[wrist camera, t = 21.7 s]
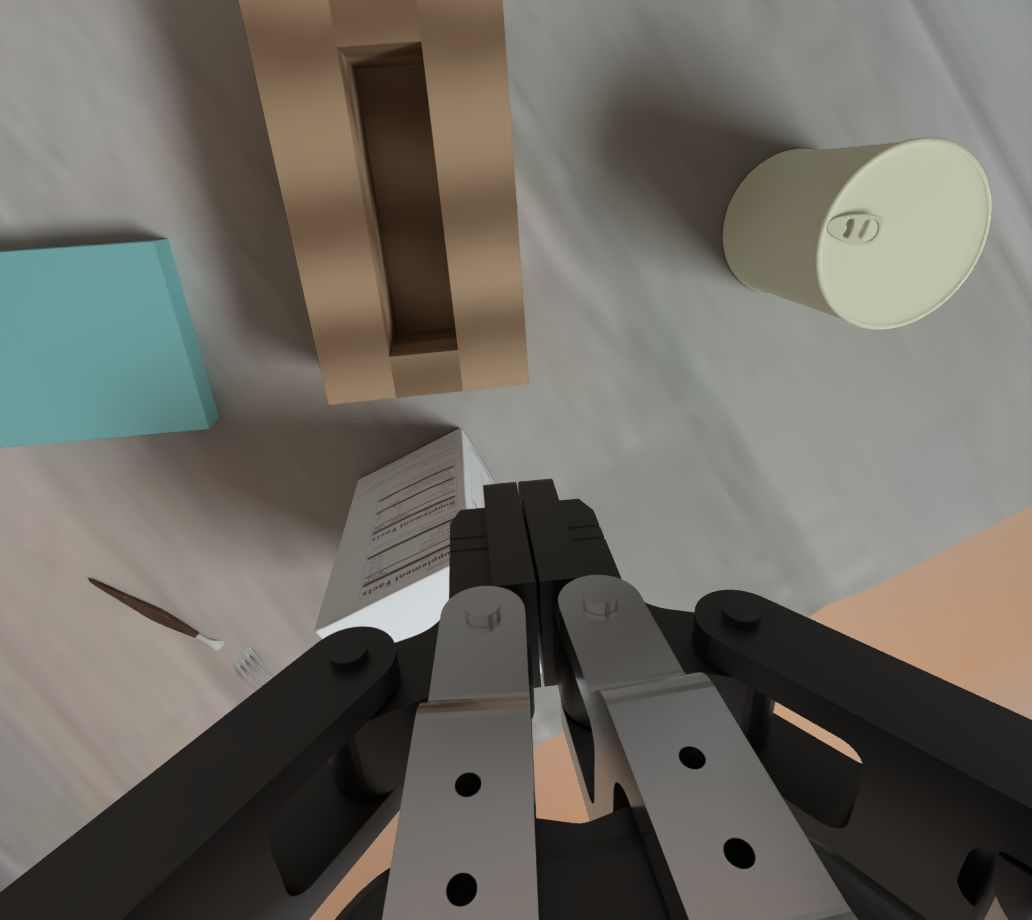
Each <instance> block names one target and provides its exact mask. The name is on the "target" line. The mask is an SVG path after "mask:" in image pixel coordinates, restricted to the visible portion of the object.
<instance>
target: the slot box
mask: <svg viewBox="0 0 1032 920" xmlns="http://www.w3.org/2000/svg"><path fill="white" fill-rule="evenodd" d="M239 4H240V9H241V13H242V18H243V22H244V27H245V31H246V36H247V40H248V45H249V49H250V54H251V58H252V63H253V67H254V72H255V76H256V81H257V85H258V90H259V94H260V99H261V103H262V108H263V112H264V117H265V121H266V126H267V130H268V135H269V139H270V144H271V148H272V153H273V157H274V162H275V166H276V171H277V175H278V180H279V184H280V189H281V193H282V198H283V202H284V207H285V211H286V216H287V220H288V225H289V229H290V234H291V238H292V243H293V247H294V252H295V256H296V261H297V265H298V270H299V274H300V279H301V283H302V288H303V292H304V297H305V301H306V306H307V310H308V315H309V320H310V324H311V329H312V333H313V338H314V342H315V347H316V351H317V356H318V360H319V365H320V369H321V374H322V378H323V383H324V387H325V392H326V396H327V401H328V405H331V404H341V403H351V402H360V401H370V400H380V399H390V398H399V397H409V396H419V395H428V394H438V393H448V392H458V391H467V390H477V389H487V388H497V387H506V386H516V385H526V384H529V376H528V362H527V347H526V333H525V318H524V304H523V290H522V275H521V261H520V246H519V232H518V217H517V203H516V189H515V174H514V160H513V145H512V131H511V116H510V102H509V88H508V73H507V59H506V44H505V30H504V16H503V1H502V0H239Z"/></svg>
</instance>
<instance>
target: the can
mask: <svg viewBox="0 0 1032 920" xmlns="http://www.w3.org/2000/svg"><path fill="white" fill-rule="evenodd" d="M990 219H991V194H990V189H989V185H988V181H987V178H986V176H985V173H984V171H983V169H982V168H981V166H980V164H979V163H978V161H977V160H976V159H975V158H974V157H973V156H972V155H971V154H970V153H969V152H968V151H967V150H965V149H964V148H962V147H961V146H959V145H957V144H955V143H953V142H950V141H947V140H943V139H938V138H916V139H910V140H906V141H902V142H896V143H888V144H879V145H870V146H860V147H849V148H838V149H827V150H814V149H793V150H788V151H785V152H781V153H779V154H776V155H774V156H772V157H770V158H768V159H767V160H765V161H764V162H762V163H761V164H760V165H758V166H757V167H756V168H755V169H754V170H753V171H751V172H750V173H749V174H748V175H747V177H746V178H745V179H744V180H743V181H742V183H741V184H740V185H739V187H738V188H737V190H736V192H735V193H734V195H733V197H732V199H731V201H730V204H729V206H728V209H727V212H726V215H725V220H724V225H723V247H724V253H725V256H726V260H727V262H728V265H729V267H730V269H731V270H732V272H733V273H734V275H735V276H736V277H737V279H738V280H739V281H740V282H741V283H743V284H744V285H745V286H747V287H748V288H750V289H752V290H754V291H756V292H759V293H762V294H766V295H775V296H778V297H782V298H785V299H788V300H790V301H793V302H796V303H799V304H802V305H805V306H808V307H810V308H813V309H816V310H819V311H821V312H824V313H827V314H829V315H832V316H835V317H837V318H840V319H842V320H844V321H846V322H847V323H849V324H852V325H855V326H857V327H861V328H866V329H890V328H895V327H900V326H903V325H906V324H909V323H911V322H914V321H916V320H918V319H920V318H922V317H924V316H926V315H927V314H929V313H931V312H932V311H934V310H935V309H936V308H938V307H939V306H940V305H942V304H943V303H944V302H945V301H946V300H947V299H949V298H950V297H951V296H952V295H953V293H954V292H955V291H956V290H957V289H958V288H959V287H960V286H961V285H962V283H963V282H964V281H965V280H966V278H967V277H968V275H969V274H970V272H971V271H972V269H973V268H974V266H975V264H976V262H977V260H978V258H979V256H980V254H981V252H982V249H983V247H984V244H985V242H986V238H987V234H988V230H989V226H990Z"/></svg>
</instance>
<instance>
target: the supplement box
mask: <svg viewBox="0 0 1032 920" xmlns="http://www.w3.org/2000/svg"><path fill="white" fill-rule="evenodd" d="M488 484H495V483H494V481H493V479H492V478H491V476H490V474H489V473H488V471H487V469H486V468H485V466H484V465H483V463H482V461H481V460H480V458H479V456H478V455H477V453H476V451H475V450H474V448H473V446H472V445H471V443H470V441H469V440H468V438H467V436H466V435H465V433H464V432H463V430H462V429H457V430H455V431H453V432H451V433H449V434H447V435H445V436H443V437H441V438H440V439H438V440H436V441H434V442H432V443H430V444H428V445H426V446H424V447H422V448H420V449H418V450H416V451H414V452H412V453H410V454H408V455H406V456H404V457H403V458H401V459H399V460H397V461H395V462H393V463H391V464H389V465H387V466H385V467H383V468H381V469H379V470H377V471H375V472H373V473H371V474H369V475H367V476H365V477H363V478H361V479H360V480H358V482H357V486H356V489H355V493H354V496H353V500H352V503H351V507H350V510H349V514H348V517H347V521H346V524H345V527H344V531H343V534H342V538H341V541H340V545H339V548H338V552H337V555H336V559H335V562H334V566H333V569H332V572H331V576H330V579H329V583H328V586H327V589H326V593H325V596H324V600H323V603H322V606H321V610H320V613H319V616H318V620H317V623H316V627H315V632H316V633H317V635H318V636H319V637H320V638H321V639H323V638H325V637H327V636H328V635H330V634H332V633H335V632H337V631H339V630H343V629H346V628H351V627H359V626H367V627H374V628H378V629H381V630H383V631H385V632H386V633H388V634H389V635H390V636H391V637H392V639H393V640H394V642H398V641H401V640H404V639H407V638H410V637H413V636H415V635H418V634H420V633H422V632H424V631H426V630H428V629H429V628H431V627H432V626H433V625H435V624H436V623H437V622H438V621H439V620H440V615H441V611H442V609H443V607H444V605H445V604H446V603H447V601H448V600H449V560H450V523H451V522H452V520H453V519H454V518H455V516H456V515H457V513H458V512H459V511H460V510H464V509H475V508H485V504H484V493H483V485H488ZM540 673H542V669H541V663H540Z"/></svg>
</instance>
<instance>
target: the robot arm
mask: <svg viewBox="0 0 1032 920" xmlns="http://www.w3.org/2000/svg"><path fill="white" fill-rule="evenodd" d="M518 491H519V494H518ZM483 493H484V504H485V508H475V509H464V510H460V511H459V512H458V513H457V515H456V516H455V518H454V519H453V520H452V522H451V523H450V560H449V600H448V601H447V603H446V604H445V605H444V607H443V609H442V611H441V615H440V620H439V621H438V622H437V623H436V624H435V625H433V626H432V627H431V628H429V629H428V630H426V631H424V632H422V633H420V634H418V635H415V636H413V637H410V638H407V639H404V640H401V641H398V642H394V640H393V639H392V637H391V636H390V635H389V634H388V633H386V632H385V631H383V630H381V629H378V628H374V627H367V626H359V627H351V628H346V629H343V630H339V631H337V632H335V633H332V634H330V635H328V636H327V637H325V638H323V639H322V640H321V641H319V642H318V643H317V644H315V645H314V646H313V647H311V648H310V649H309V650H308V651H306V652H305V653H304V654H303V655H301V656H300V657H299V658H297V659H296V660H295V661H294V662H292V663H291V664H290V665H289V666H287V667H286V668H285V669H284V670H282V671H281V672H280V673H278V674H277V675H276V676H275V677H273V678H272V679H271V680H270V681H268V682H267V683H266V684H264V685H263V686H262V687H261V688H259V689H258V690H257V691H256V692H254V693H253V694H252V695H250V696H249V697H248V698H247V699H245V700H244V701H243V702H242V703H240V704H239V705H238V706H236V707H235V708H234V709H233V710H231V711H230V712H229V713H228V714H226V715H225V716H224V717H223V718H221V719H220V720H219V721H217V722H216V723H215V724H214V725H212V726H211V727H210V728H209V729H207V730H206V731H205V732H203V733H202V734H201V735H200V736H198V737H197V738H196V739H195V740H193V741H192V742H191V743H189V744H188V745H187V746H186V747H184V748H183V749H182V750H181V751H179V752H178V753H177V754H175V755H174V756H173V757H172V758H170V759H169V760H168V761H167V762H165V763H164V764H163V765H162V766H160V767H159V768H158V769H156V770H155V771H154V772H153V773H151V774H150V775H149V776H148V777H146V778H145V779H144V780H142V781H141V782H140V783H139V784H137V785H136V786H135V787H134V788H132V789H131V790H130V791H128V792H127V793H126V794H125V795H123V796H122V797H121V798H120V799H118V800H117V801H116V802H114V803H113V804H112V805H111V806H109V807H108V808H107V809H106V810H104V811H103V812H102V813H101V814H99V815H98V816H97V817H95V818H94V819H93V820H92V821H90V822H89V823H88V824H87V825H85V826H84V827H83V828H81V829H80V830H79V831H78V832H76V833H75V834H74V835H73V836H71V837H70V838H69V839H67V840H66V841H65V842H64V843H62V844H61V845H60V846H59V847H57V848H56V849H55V850H54V851H52V852H51V853H50V854H48V855H47V856H46V857H45V858H43V859H42V860H41V861H40V862H38V863H37V864H36V865H34V866H33V867H32V868H31V869H29V870H28V871H27V872H26V873H24V874H23V875H22V876H20V877H19V878H18V879H17V880H15V881H14V882H13V883H12V884H10V885H9V886H8V887H6V888H5V889H4V890H3V891H1V892H0V920H309V919H310V918H311V916H312V915H313V914H314V913H315V912H316V910H317V909H318V908H319V907H320V906H321V904H322V903H323V902H324V901H325V900H326V898H327V897H328V896H329V895H330V893H331V892H332V891H333V890H334V889H335V888H336V886H337V885H338V884H339V883H340V881H341V880H342V879H343V878H344V877H345V875H346V874H347V873H348V872H349V870H350V869H351V868H352V867H353V866H354V865H355V863H356V862H357V861H358V860H359V858H360V857H361V856H362V855H363V854H364V853H365V851H366V850H367V849H368V848H369V846H370V845H371V844H372V843H373V842H374V840H375V839H376V838H377V837H378V836H379V834H380V833H381V832H382V831H383V829H384V828H385V827H386V826H387V825H388V823H389V822H390V821H391V820H392V819H393V817H394V816H395V815H396V814H397V813H398V811H399V810H400V813H399V819H398V825H397V832H396V838H395V844H394V850H393V857H392V862H391V867H390V868H389V869H387V870H386V871H384V872H383V873H382V874H380V875H379V876H377V877H376V878H375V879H374V880H373V881H371V882H370V883H369V884H368V885H367V886H366V887H365V888H363V890H361V891H360V892H359V893H358V894H357V895H356V896H355V897H354V898H353V899H352V901H351V902H350V903H349V904H348V905H347V906H346V907H345V908H344V909H343V910H342V911H341V913H340V914H339V915H338V916H337V918H336V919H335V920H1032V720H1031V719H1028V718H1026V717H1024V716H1022V715H1020V714H1017V713H1015V712H1013V711H1011V710H1009V709H1007V708H1004V707H1002V706H1000V705H998V704H996V703H993V702H991V701H989V700H987V699H985V698H983V697H980V696H978V695H976V694H974V693H971V692H969V691H967V690H965V689H963V688H961V687H958V686H956V685H954V684H952V683H950V682H947V681H945V680H943V679H941V678H939V677H936V676H934V675H932V674H930V673H928V672H926V671H923V670H921V669H919V668H917V667H915V666H912V665H910V664H908V663H906V662H904V661H901V660H899V659H897V658H895V657H893V656H890V655H888V654H886V653H884V652H882V651H879V650H877V649H875V648H873V647H871V646H869V645H866V644H864V643H862V642H860V641H858V640H855V639H853V638H851V637H849V636H846V635H844V634H842V633H840V632H838V631H836V630H833V629H831V628H829V627H827V626H825V625H823V624H820V623H818V622H816V621H814V620H811V619H809V618H807V617H805V616H803V615H801V614H798V613H796V612H794V611H792V610H790V609H787V608H785V607H783V606H781V605H779V604H776V603H774V602H772V601H770V600H768V599H766V598H763V597H761V596H758V595H756V594H753V593H749V592H745V591H740V590H720V591H715V592H712V593H709V594H707V595H705V596H704V597H702V598H701V599H700V600H699V601H698V603H697V605H696V607H695V613H694V612H686V611H678V610H670V609H664V608H660V607H656V606H653V605H650V604H647V603H645V602H644V600H643V599H642V597H641V595H640V593H639V592H638V591H637V589H636V588H635V587H633V586H632V585H631V584H629V583H628V582H626V581H624V580H622V579H621V576H620V574H619V572H618V569H617V567H616V564H615V562H614V559H613V557H612V554H611V552H610V550H609V547H608V545H607V542H606V540H605V539H604V535H603V533H602V530H601V528H600V527H599V523H598V520H597V518H596V516H595V513H594V511H593V510H592V509H591V508H590V507H589V506H587V505H586V504H585V503H583V502H582V501H581V500H580V499H571V500H560V501H559V498H558V495H557V492H556V489H555V486H554V483H553V480H552V479H543V480H532V481H521V482H519V483H518V489H517V484H516V482H511V483H500V484H488V485H483ZM540 663H541V669H542V674H543V680H544V686H553V685H558V688H559V692H560V697H561V721H562V726H563V730H564V733H565V737H566V740H567V744H568V747H569V751H570V754H571V757H572V761H573V764H574V768H575V771H576V775H577V778H578V782H579V785H580V789H581V792H582V796H583V799H584V803H585V806H586V809H587V813H588V817H589V821H590V822H586V823H581V824H579V823H569V822H561V821H553V820H545V819H538V818H536V799H535V779H534V759H533V738H532V718H533V715H534V710H535V707H534V688H537V687H541V678H540ZM775 701H776V702H777V703H779V704H781V705H783V706H784V707H786V708H788V709H790V710H791V711H793V712H795V713H797V714H798V715H800V716H802V717H804V718H805V719H807V720H809V721H811V722H812V723H814V724H816V725H818V726H820V727H821V728H823V729H825V730H827V731H828V732H830V733H832V734H834V735H835V736H837V737H839V738H841V739H842V740H844V741H845V742H846V743H848V744H849V745H850V746H851V747H852V748H853V749H854V750H855V751H856V752H857V754H858V755H859V757H860V758H861V761H862V763H863V764H861V763H859V762H857V761H855V760H853V759H852V758H850V757H848V756H846V755H845V754H843V753H841V752H840V751H838V750H836V749H834V748H833V747H831V746H829V745H828V744H826V743H824V742H822V741H821V740H819V739H817V738H816V737H814V736H812V735H810V734H809V733H807V732H805V731H804V730H802V729H800V728H798V727H797V726H795V725H793V724H792V723H790V722H788V721H786V720H785V719H783V718H781V717H780V716H778V715H776V714H774V713H773V711H774V706H775Z"/></svg>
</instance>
